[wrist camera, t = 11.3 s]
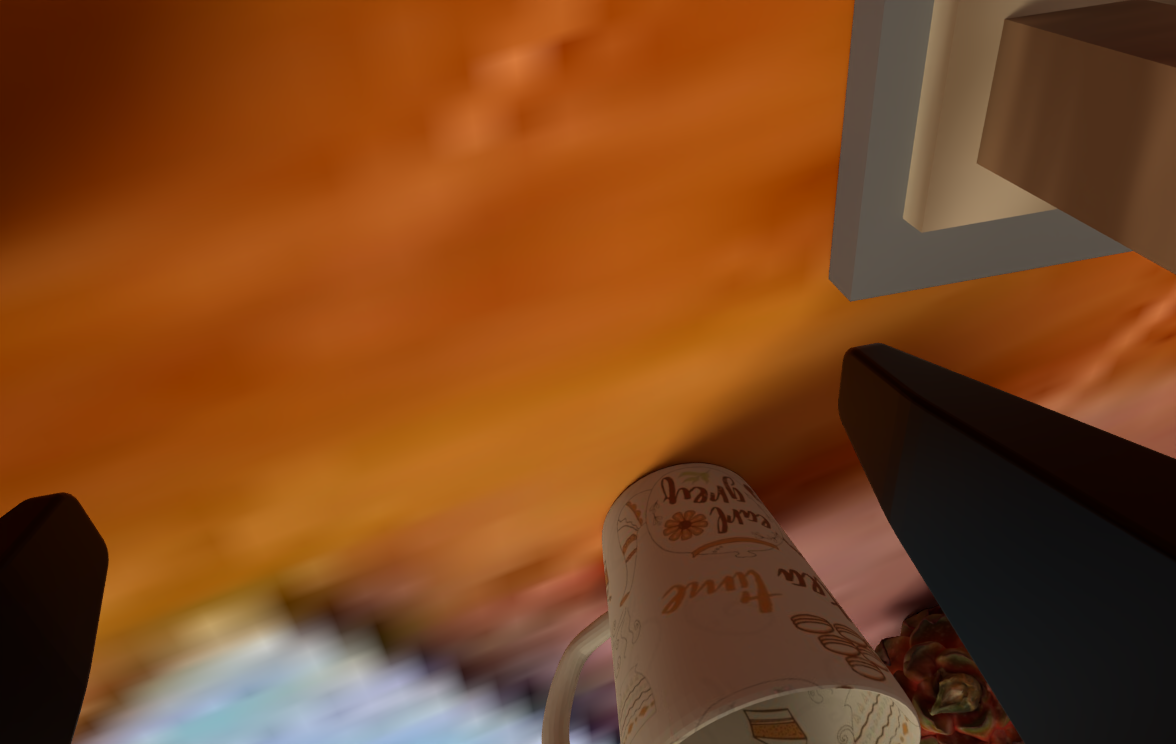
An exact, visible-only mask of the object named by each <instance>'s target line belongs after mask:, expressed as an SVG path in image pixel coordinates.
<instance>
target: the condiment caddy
mask: <svg viewBox="0 0 1176 744" xmlns="http://www.w3.org/2000/svg"><path fill="white" fill-rule="evenodd" d="M1054 209H1059V210H1061V211H1063V212H1065V213H1066V214H1068V215H1070V216H1072V217H1074V218H1075V219H1077V220H1079V221H1081V222H1083V223H1084V224H1086V225H1088V226H1090V227H1092V228H1093V229H1095V230H1097V231H1099V232H1101V233H1102V234H1104V235H1106V236H1108V237H1109V238H1111V239H1113V240H1115V241H1117V242H1118V243H1120V244H1122V245H1124V246H1126V247H1127V248H1129V249H1131V250H1133V251H1135V252H1136V253H1138V254H1140V255H1142V256H1144V257H1145V258H1147V259H1149V260H1151V261H1153V262H1154V263H1156V264H1158V265H1160V266H1161V267H1163V268H1165V269H1167V270H1169V271H1170V272H1172V273H1174V274H1176V0H934V7H933V13H932V20H931V27H930V34H929V41H928V48H927V55H926V62H925V69H924V76H923V82H922V89H921V96H920V103H919V110H918V117H917V124H916V131H915V138H914V144H913V151H912V158H911V165H910V172H909V179H908V186H907V193H906V200H905V207H904V213H903V219H904V220H905V221H907V222H908V223H909V224H911V225H912V226H913V227H915V228H916V229H917V230H919V231H920V232H921V233H923V232H929V231H934V230H940V229H946V228H951V227H957V226H963V225H969V224H974V223H980V222H986V221H991V220H997V219H1003V218H1008V217H1014V216H1020V215H1026V214H1031V213H1037V212H1043V211H1048V210H1054Z"/></svg>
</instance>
